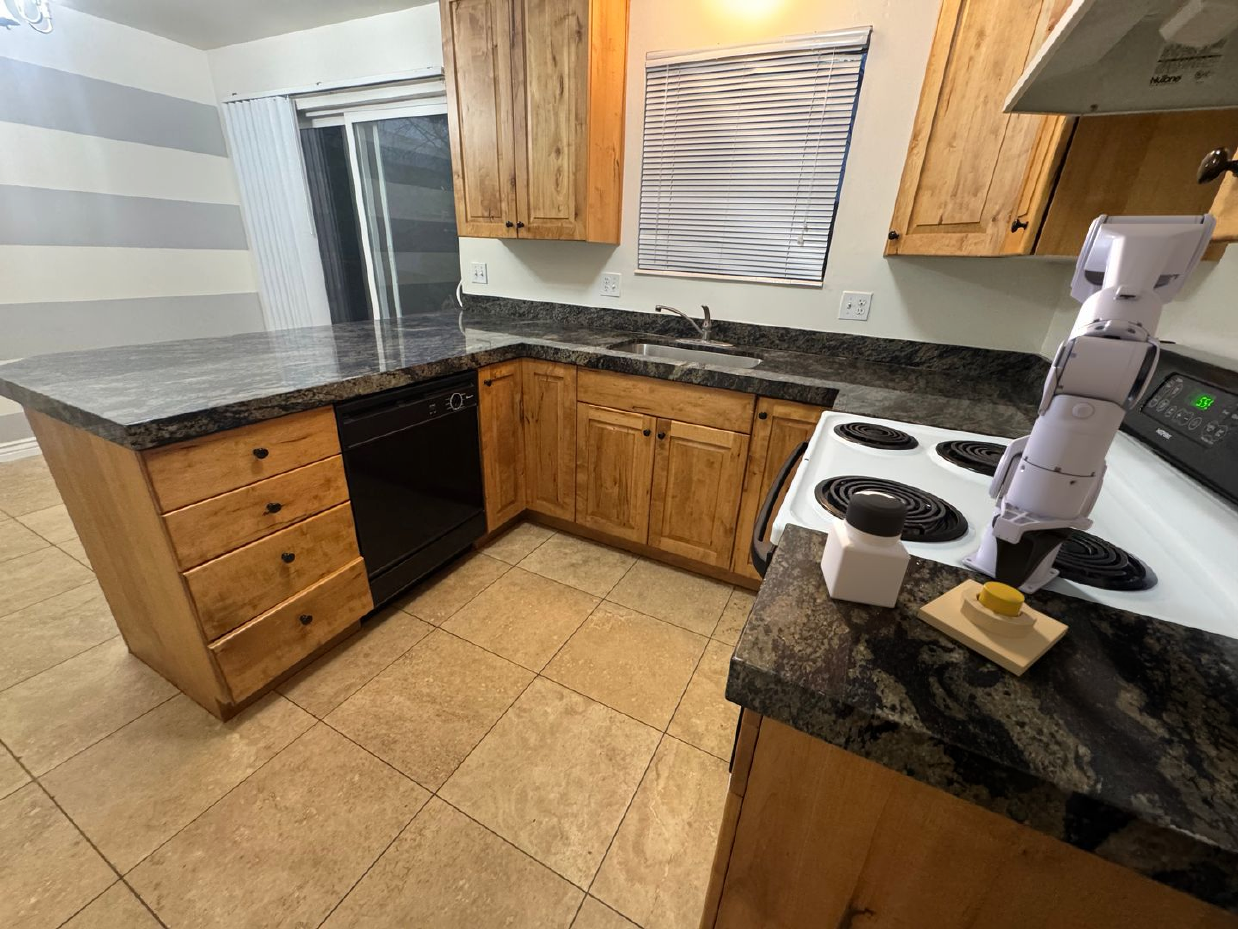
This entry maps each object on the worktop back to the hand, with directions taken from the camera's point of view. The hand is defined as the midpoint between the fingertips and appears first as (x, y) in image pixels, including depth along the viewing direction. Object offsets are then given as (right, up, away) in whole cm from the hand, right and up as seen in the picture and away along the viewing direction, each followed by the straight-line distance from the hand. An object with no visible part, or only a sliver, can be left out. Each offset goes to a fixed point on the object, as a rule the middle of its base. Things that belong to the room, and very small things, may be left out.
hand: (1008, 582), depth 53 cm
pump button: (0, -3, +1) cm, 3 cm away
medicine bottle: (-13, -3, +8) cm, 15 cm away
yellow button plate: (0, -5, +2) cm, 6 cm away
